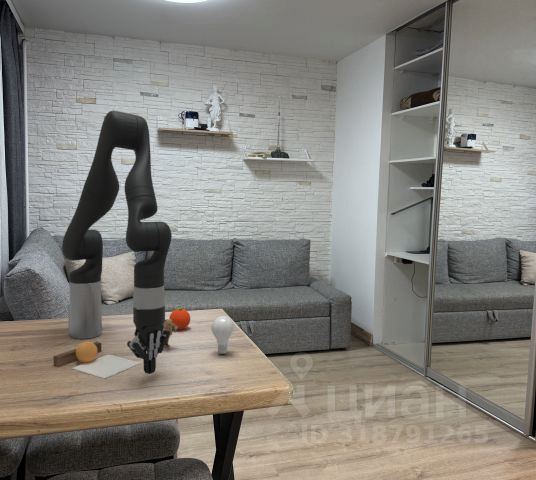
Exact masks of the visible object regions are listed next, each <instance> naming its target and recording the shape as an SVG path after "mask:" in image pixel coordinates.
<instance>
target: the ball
mask: <svg viewBox="0 0 536 480" xmlns="http://www.w3.org/2000/svg"><path fill="white" fill-rule="evenodd" d="M76 348H77V349H76ZM76 348H75V349H76V357H77V359H78V360H77V361H79V362H81V363H84V364H85V363H87V362H90V361H93V360H95V359H96V358H97V355H98V353H97V352H98V350H97V347H96V345H95V344H94V342H92V341H83V342H81V343H79V344H78V345H77V346H76Z"/></svg>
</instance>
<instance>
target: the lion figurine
mask: <svg viewBox="0 0 536 480" xmlns="http://www.w3.org/2000/svg"><path fill="white" fill-rule="evenodd" d="M163 326H164V329H165V330H168V331H170V335H169V337H168V339H167V342H166V344H165V346H164V347H166V348H170V347H171V346H170V344H169V340H170V337H171V336H172V335H173V333H176V332H177V330H178V329H177V328H178V326H176V325H175V324H174V323H173V322H172V320H171V319H169V318H165V322H164V323H163ZM159 346H160V344H159Z"/></svg>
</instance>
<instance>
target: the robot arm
mask: <svg viewBox="0 0 536 480" xmlns="http://www.w3.org/2000/svg"><path fill="white" fill-rule="evenodd" d="M150 139H151V138H150V129H149V126H148V122H147V120H146V119H145V117H143V116H140V115H138V114H133V113H128V112H123V111H118V110H110V111H108V112H107V113H106V115H105V116H104V119H103V121H102V124H101V128H100V133H99V136H98V140H97V145H96V149H95V151H94V157H93V160H92V162H91V166H90V169H89V171H88V174H87V177H86V179H85V182H84V185H83V188H82V191H81V194H80V198H79V200H78V204H77V207H76V209H75V211H74V214H73V216H72V219H71V220H70V222H69V224H68V227H67V229H66V231H65V233H64V235H63V239H62V245H61V250H62V254H63V256H64V258H66V259H67V260H70V261H82V260H83V261H84V260H85V261H84V263H83V264H82V265H81V266H79V267H78V268H76V269H74V270H72V271H71V272H70V273H69V275H68V276H69V277H68V280H69V281H68V282H69V285H68V286H69V304H68V305H67V306H68V307H67V309H68V310H67V311H68V312H67V315H68V320H67V321H68V335H70V336H71V338H73V339H78V340H79V339H80V340H81V339H83V340H84V339H85V340H86V339H93V338H97V337H99V336H101V335H102V333H103V323H102V319H103V315H102V314H103V313H102V309H103V308H102V274H103V254H104V241H103V237H102V234H101V232H100V231H99V230H97V229H93V228H91V227H92V226H93V225H94V224H96V223H97V222H98V221H100V220H101V219H102V218H103V217H104V216H105V215H107V214H108V213H109V212H110V211H111V210H112V208H113V207H114V205H115V202H116V199H117V197H118V195H119V191H120V181H119V178H118V175H117V172H116V171H115V168H114V165H113V159H112V156H113V155H112V154H113V152H114V150H115V148H118V149H123V150H129V151H131V150H132V151H133V153H134V156H135V159H134V163H133V165H132V166H131V168H130V170H129V172H128V174H127V176H126V178H125V181H124V195H125V199H126V205H127V206H126V207H127V211H128V213H127V214H128V215H127V216H128V217H127V226H126V231H125V232H126V233H125V243H126V245H127V247H128V248H129V249H130V251H133V252H137V253H139V252H140V253H141V252H152V254H151V256H150V257H149V258H146V259H144V260H140V261H138V262H136V263H135V264H134V267H133V292H132V293H133V294H132V303H133V304H132V311H133V312H132V313H133V314H132V317H133V319H132V320H133V321H132V322H133V324H134V326H135V330H134V332H133V333H134V337H133V339H131V341H130V340H128V341H127V343H126V346H127V347H128V348H129V350H130V351H131V352H132V353H133V355H134V356H135V357H136V358H137V359H142V360H143V371H144V373H145V374H148V375H152V374H154V373H155V372H156V368H157V358H158V355H159V354H162V353H163V350H164V348H165V347H166V346H165V344H166V342H167V339H168V337H169V335H170V331H168V330H165V329H164V326H163V323H164V322H165V320H166V291H165V265H166V261H167V256H168V253H169V249H170V246H171V242H172V237H173V236H172V230H171V228H170V226H169V225H168V223H166V222H164V221H142V220H146V219H150V218H151V217H154V216H155V215H156V214H157V212H158V203H157V198H156V194H155V193H156V192H155V189H154V185H153V178H152V177H153V176H152V161H151V158H152V157H151V143H150V141H151V140H150ZM90 228H91V229H90ZM159 344H160V346H159Z"/></svg>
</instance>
